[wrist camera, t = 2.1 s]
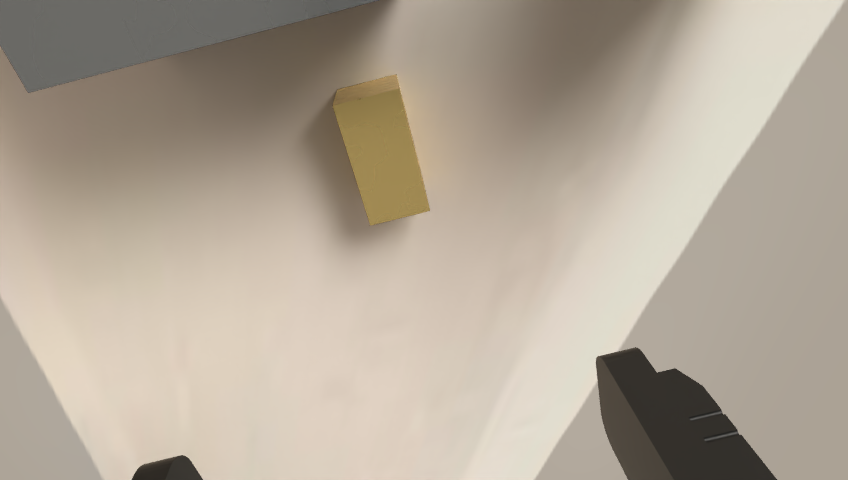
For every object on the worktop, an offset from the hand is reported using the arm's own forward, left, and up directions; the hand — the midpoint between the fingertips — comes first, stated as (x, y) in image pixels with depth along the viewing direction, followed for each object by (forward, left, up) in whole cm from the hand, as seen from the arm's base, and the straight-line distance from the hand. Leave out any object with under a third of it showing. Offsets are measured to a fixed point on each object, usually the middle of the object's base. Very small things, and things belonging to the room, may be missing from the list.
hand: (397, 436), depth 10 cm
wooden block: (0, 0, -20) cm, 20 cm away
